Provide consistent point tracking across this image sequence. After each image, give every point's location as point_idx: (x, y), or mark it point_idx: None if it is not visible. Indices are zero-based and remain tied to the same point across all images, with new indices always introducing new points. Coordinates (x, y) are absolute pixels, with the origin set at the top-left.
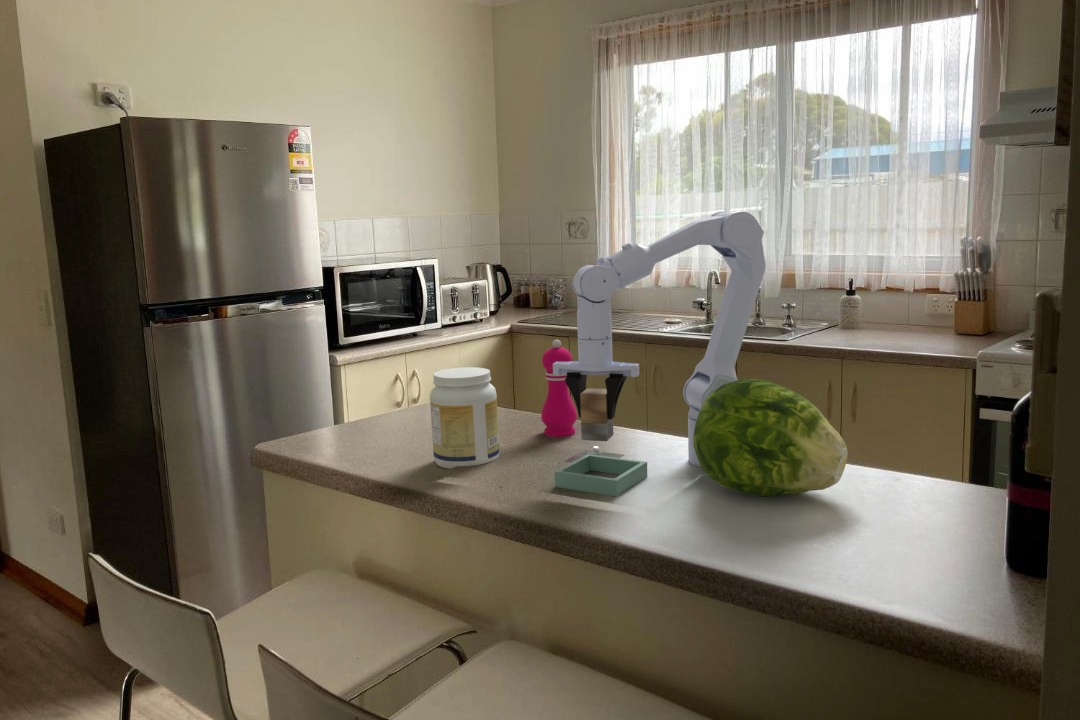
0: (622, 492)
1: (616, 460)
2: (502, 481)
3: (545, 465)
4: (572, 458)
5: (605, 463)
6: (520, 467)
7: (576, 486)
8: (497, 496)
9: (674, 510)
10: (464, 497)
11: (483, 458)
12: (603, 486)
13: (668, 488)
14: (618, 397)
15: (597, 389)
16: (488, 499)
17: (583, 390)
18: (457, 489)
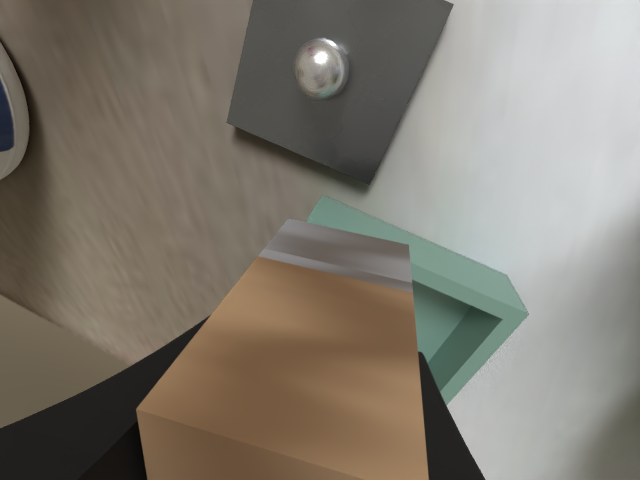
0: None
1: (415, 279)
2: (130, 255)
3: (174, 109)
4: (245, 85)
5: None
6: (115, 136)
7: None
8: (165, 340)
9: (538, 442)
10: (112, 340)
11: (4, 161)
12: None
13: (562, 324)
14: (481, 476)
15: (254, 469)
16: None
17: (137, 476)
18: (74, 299)
